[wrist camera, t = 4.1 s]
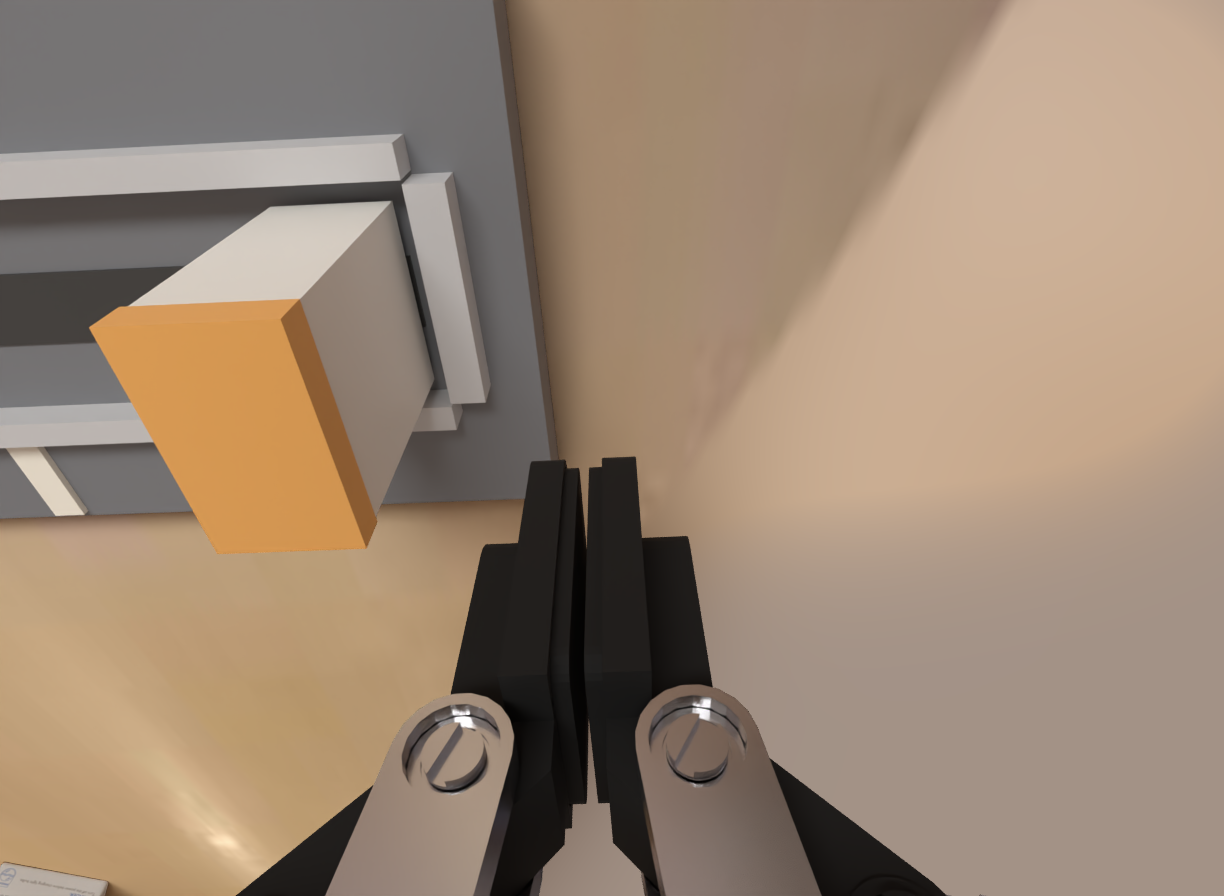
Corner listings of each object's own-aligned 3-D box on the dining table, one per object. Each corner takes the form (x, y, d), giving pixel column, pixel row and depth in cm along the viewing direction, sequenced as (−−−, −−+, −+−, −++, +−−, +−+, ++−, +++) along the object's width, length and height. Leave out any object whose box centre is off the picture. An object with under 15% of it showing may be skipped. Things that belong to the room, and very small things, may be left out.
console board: (497, -63, 15) (476, -70, 12) (558, 461, 24) (553, 517, 21) (-560, -3, 15) (-780, 2, 13) (-113, 487, 24) (-193, 545, 22)
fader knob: (393, 198, 16) (280, 319, 10) (436, 380, 19) (366, 548, 13) (268, 204, 16) (88, 327, 10) (330, 384, 19) (217, 554, 13)
